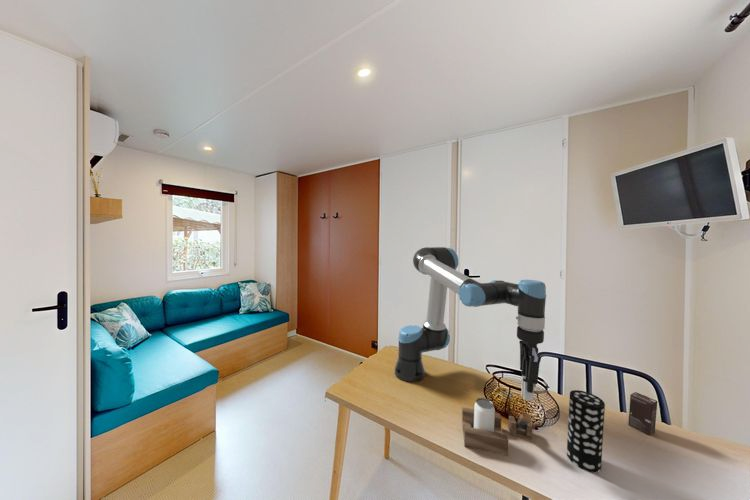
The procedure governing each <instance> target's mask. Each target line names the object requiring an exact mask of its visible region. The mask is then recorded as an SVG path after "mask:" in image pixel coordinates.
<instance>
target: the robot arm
mask: <svg viewBox="0 0 750 500" xmlns="http://www.w3.org/2000/svg"><path fill="white" fill-rule="evenodd" d="M412 263H413V267H414V268H415V269H416V271H418V273H421V274H423V275H426V276H427V275H428V276H429V277H430V281H429V282H430V283H429V292H428V301H427V303H428V304H427V312H426V313H427V314H426V319H425V320H423V322H422V326H419V325H412V324H410V325H405V326H403V327H401V328H400V330H399V331H398V353H397V354H398V357H397V361H396V364H395V366H394V375H395V377H396V378H398V379H399V380H402V381H404V382H410V383H412V382H413V383H414V382H419V381H422V380H423V379H424V378H425V373H426V372H425V371H426V370H425V368H424V364H423V361H422V358H423V357H422V355H423V354H422V353H426V352H427V353H429V352H433V351H441V350H443V349H445V348H447V347H448V345H449V344H450V341H451V340H450V337H451V336H450V331H449V329H448V328H447V326H446V324H445V323H444V319H445V312H446V311H445V310H446V303H447V295H448V289H449V290H450V291H452V292H454V293H456V294H457V295H458V297H459V300H460V301H461V303H462V305H463V306H466V307H473V308H476V307H482V306H483V307H484V306H488V305H489V306H491V305H492V306H493V305H501V304H508V305H511V306H514V307H517V316H515V319H516V320H517V325H518V326H517V327H516V337H517V339H519V370H520V373H521V387H520V389H521V390H520V391H521V393H520V394H521V396H522V397H523V399H522V400H523V401H527V402H532V403H533V402H534V398H535V397H534V396H535V385H537V384H538V380H539V373H540V372H539V371H540V364H541V361H542V357H541V356H540V355H538V353H539V347H538V345H539V344H542V343H544V341H545V340H544V339H545V331H544V330H545V323H546V316H545V314H546V313H545V312H546V299H547V288H546V287H547V286H546V283H545V282H543V281H541V280H534V279H521V280H519V282H518V284H517V283H513V282H509V281H508V282H507V281H504V280H497V279H494V280H491V281H490V282H478V281H477V280H475V279H474V278H471V277H469V276H468V275H465V274H464V273H462V272H460V271H458V270H456V269H457V268H458V267H459V256H458V254H457V253H456V251H455V250H454V249H453V248H451V247H445V246H441V247H440V246H437V247H435V246H434V247H429V246H428V247H422V248H420V249H418V250H417V251H416V252H415V253H414V254H413V258H412Z"/></svg>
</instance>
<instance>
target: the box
mask: <svg viewBox="0 0 750 500" xmlns="http://www.w3.org/2000/svg"><path fill="white" fill-rule="evenodd" d="M629 399H630V400H629V411H628V412H629V413H628V422H627V423H628V424H627V425H628V426H630V427H632V428H634V429H636V430H639V431H641V432H642V433H644V434H646V435H647V436H649V437H651V436H652V435H653V434H654V433H656V421H657V410H658V400H656V399H653V398H652V397H649V396H647V395H644V394H641V393H639V392H637V391H635V392H632V393H631V394H630V397H629Z"/></svg>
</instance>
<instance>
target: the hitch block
mask: <svg viewBox="0 0 750 500" xmlns="http://www.w3.org/2000/svg"><path fill="white" fill-rule="evenodd" d="M516 422H517V421H516V419H515V416H513V415H508V424H507V425H508V430H509V433H510V436H515V437H519V438H523V439H524V438H525V439H529V440H532V439H533V425H532V422H531V421H530V422H529V423H528V424H527V425H526V427H525V430H523V429H518V428H516ZM461 423H462V424H461V425H462V435H463V443H464V448H465V447H466V448H469V449H473V450H474V449H475V450H479V451H482V452H483V451H484V452H488V453H492V454H498V455H502V456H506V457H508V456H509V443H510V442H509V438H508V435H507V434H505V433H504V432H503V429H502V417H501V413H498V412H495V419H494V432H491V431H486V430H481V429H476V428H474V408H470V407H464V406H462V407H461Z"/></svg>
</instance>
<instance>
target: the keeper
mask: <svg viewBox="0 0 750 500" xmlns="http://www.w3.org/2000/svg"><path fill="white" fill-rule="evenodd" d="M531 421H532V416H531V414H530V413H523V412H522V413H521V414H520V415H519V418H518V419H517V421H516V428H518V429H523V430H525V427H526V425H527V424H528V423H529V422H531Z"/></svg>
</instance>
